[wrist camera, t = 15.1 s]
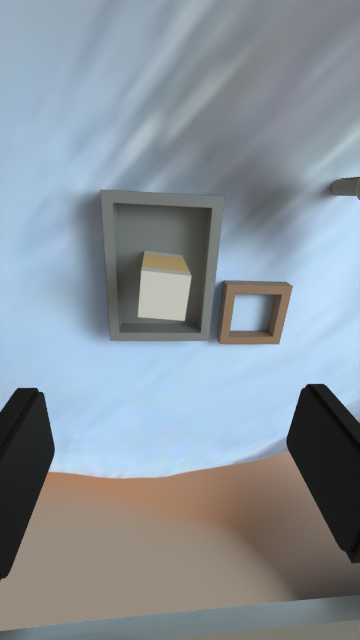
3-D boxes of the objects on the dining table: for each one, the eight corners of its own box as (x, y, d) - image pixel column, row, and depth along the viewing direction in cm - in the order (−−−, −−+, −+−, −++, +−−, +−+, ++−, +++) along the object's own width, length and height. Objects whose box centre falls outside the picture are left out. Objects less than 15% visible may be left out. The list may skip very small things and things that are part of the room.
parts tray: (105, 189, 26) (100, 189, 24) (217, 196, 27) (224, 196, 25) (113, 328, 33) (110, 340, 30) (204, 328, 34) (208, 340, 31)
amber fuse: (144, 250, 28) (141, 270, 21) (182, 255, 29) (191, 275, 22) (141, 287, 30) (137, 317, 23) (177, 290, 31) (184, 320, 23)
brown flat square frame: (224, 280, 31) (227, 284, 30) (286, 282, 32) (292, 286, 30) (217, 337, 34) (219, 344, 33) (273, 338, 35) (279, 344, 34)
